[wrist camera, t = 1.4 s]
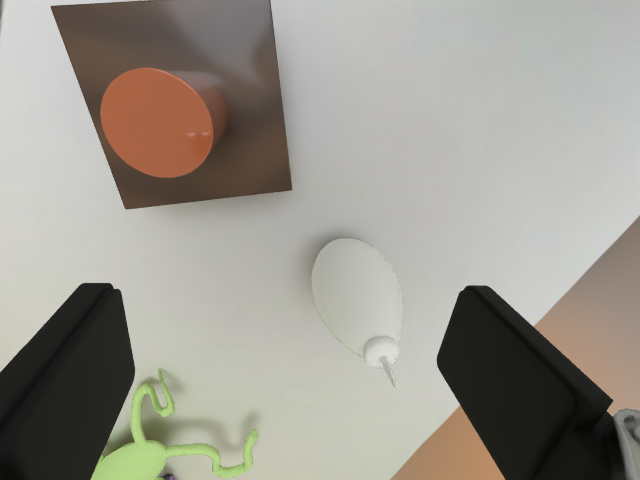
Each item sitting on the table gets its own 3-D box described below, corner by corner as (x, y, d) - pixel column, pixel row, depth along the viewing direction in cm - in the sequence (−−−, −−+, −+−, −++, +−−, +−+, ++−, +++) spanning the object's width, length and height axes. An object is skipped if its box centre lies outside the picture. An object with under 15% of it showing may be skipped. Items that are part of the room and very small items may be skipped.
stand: (111, 26, 25) (49, 5, 18) (268, 16, 26) (269, -7, 19) (158, 179, 30) (125, 210, 23) (286, 165, 31) (292, 190, 24)
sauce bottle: (298, 277, 37) (322, 426, 21) (315, 215, 34) (358, 336, 18) (361, 286, 39) (426, 429, 23) (382, 228, 36) (474, 348, 20)
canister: (146, 65, 20) (91, 58, 13) (228, 77, 20) (212, 76, 14) (153, 146, 22) (107, 173, 15) (227, 154, 23) (213, 182, 16)
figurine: (275, 419, 48) (276, 459, 43) (145, 503, 52) (132, 548, 47) (177, 353, 40) (164, 392, 35) (32, 458, 44) (2, 506, 39)
